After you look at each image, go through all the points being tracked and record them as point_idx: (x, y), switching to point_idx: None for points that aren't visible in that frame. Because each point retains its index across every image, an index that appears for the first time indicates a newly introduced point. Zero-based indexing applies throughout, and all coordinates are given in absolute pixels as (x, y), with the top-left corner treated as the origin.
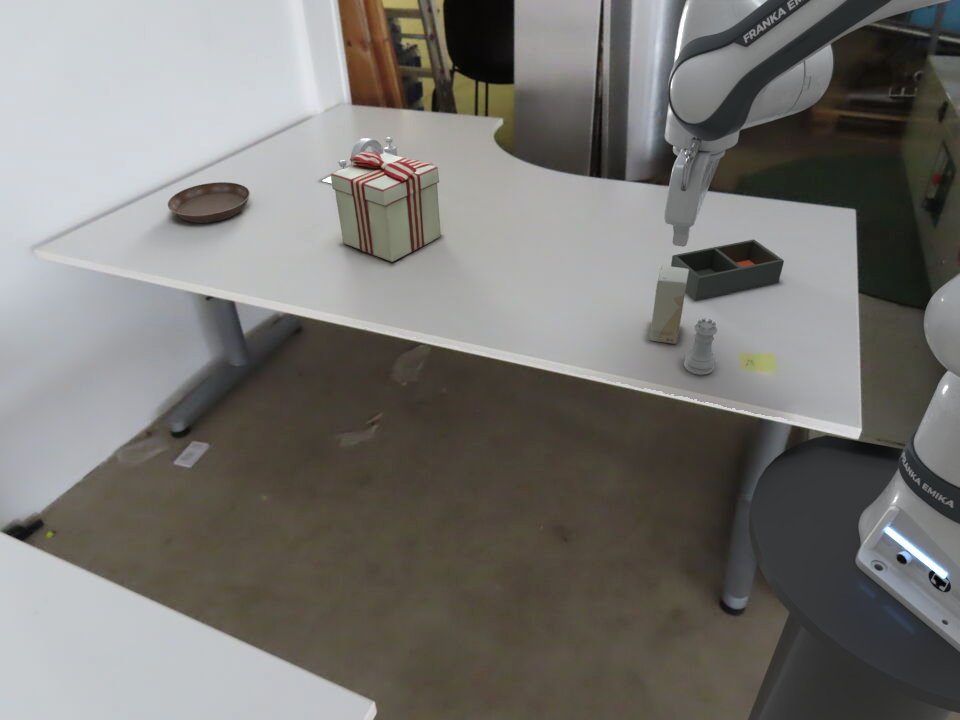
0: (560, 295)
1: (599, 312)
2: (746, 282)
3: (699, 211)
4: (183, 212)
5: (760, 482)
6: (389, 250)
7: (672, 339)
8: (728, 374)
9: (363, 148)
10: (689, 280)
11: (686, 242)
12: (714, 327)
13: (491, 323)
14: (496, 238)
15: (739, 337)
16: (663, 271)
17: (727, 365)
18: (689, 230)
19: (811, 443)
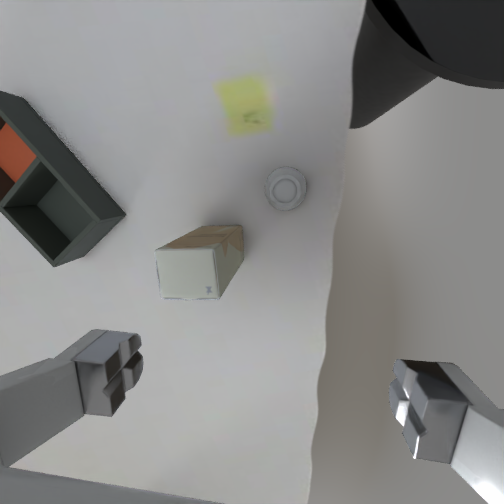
0: (183, 374)
1: (202, 326)
2: (56, 146)
3: (109, 333)
4: None
5: (486, 75)
6: None
7: (241, 232)
8: (288, 145)
9: None
10: (98, 231)
11: (462, 373)
12: (291, 176)
13: (268, 430)
14: (93, 457)
15: (192, 140)
16: (184, 293)
17: (267, 149)
18: (437, 402)
19: (389, 10)
